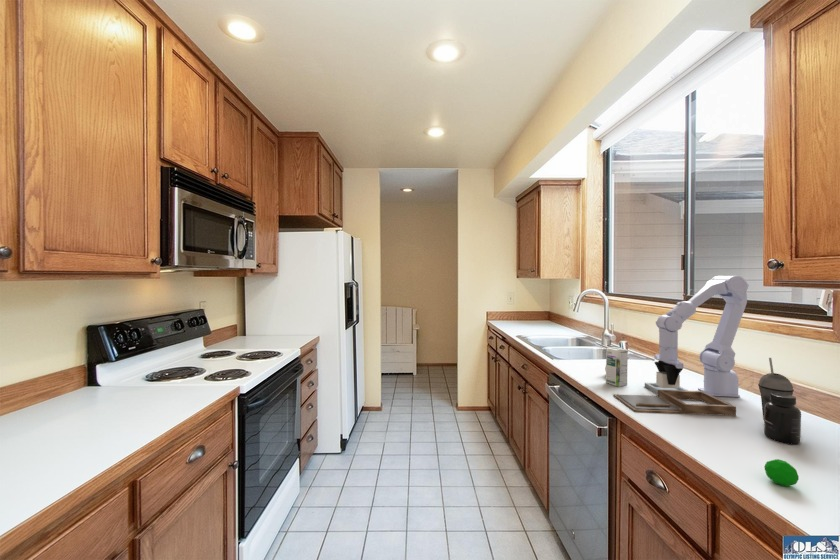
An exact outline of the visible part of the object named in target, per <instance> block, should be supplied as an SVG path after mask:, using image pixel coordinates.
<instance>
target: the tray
mask: <svg viewBox="0 0 840 560" xmlns="http://www.w3.org/2000/svg"><path fill="white" fill-rule="evenodd" d="M644 388H646V389H648V390H649V391H652V392H653V393H655V395H656V394H657V395H658V390H684V391H690V390H688V389H686V388H684V387H682V386H680V389H679V388H662V387H660V386H658V385H656V382H644Z"/></svg>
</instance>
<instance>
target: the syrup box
mask: <svg viewBox="0 0 840 560" xmlns="http://www.w3.org/2000/svg"><path fill="white" fill-rule="evenodd" d="M628 352H629V350H628V349H626V348H621V347H616V346H615V347H614V346H609V347H606V352H605V357H606V358H605V359H606V360H605V367H606V371H605V383H606V384H608V383H609V385H612V386H615V387H623V386H628V360H629V358H628V356H629V355H628Z"/></svg>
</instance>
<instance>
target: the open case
mask: <svg viewBox="0 0 840 560" xmlns="http://www.w3.org/2000/svg"><path fill="white" fill-rule="evenodd" d="M613 397H614V398H615V397H616V398H615V399H617V400H618V401H619V400H620V401H619V402H621V403H622V404H624V405H625V407H627V408H629V409H630V410H631V411H633V412H635V413H651V412H652V413H655V414H681V415H682V414H683V415H684V414H685V415H706V414H707V415H712V416H733V417H734V416H737V406H736V405H733V404H731V403H729V402H726V401H725V400H722V399H720V398H719V397H717V396H712V395H710V394H708V393H705V392H703V391H701V390H689V391H684V390H658V394H657V395H645V394H642V395H641V394H640V395H639V394H618V393H617V394H613ZM687 399H689V400H690V401H692V400H693V401H695V400H696V401H702V400H703V401H702V402H704V401H705V402H704V404H702V403H686V402H684V401H682V400H687ZM705 403H706V404H705Z"/></svg>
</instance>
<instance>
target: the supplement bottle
mask: <svg viewBox="0 0 840 560" xmlns="http://www.w3.org/2000/svg"><path fill="white" fill-rule="evenodd" d="M770 400H771V402H767V403H766V404H765V417H764V420H763V425H764V426H763V427H764V428H763V434H764V436H765V437H766V438H767V439H770V440H772V441H774V442H777V443H781V444H783V445H784V444H785V445H791V446H793V445H794V446H795V445H798V444H800V443H801V433H802V412H801V409H799V407H797V406H796V405H797V398H796V396H794V395H789V394H785V393H778V392H771V393H770Z"/></svg>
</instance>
